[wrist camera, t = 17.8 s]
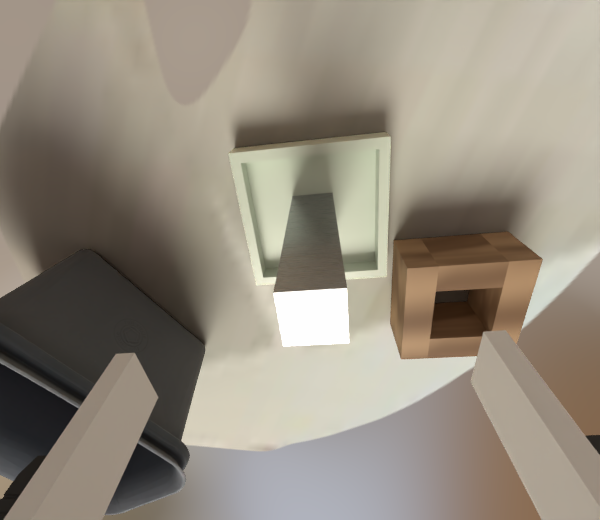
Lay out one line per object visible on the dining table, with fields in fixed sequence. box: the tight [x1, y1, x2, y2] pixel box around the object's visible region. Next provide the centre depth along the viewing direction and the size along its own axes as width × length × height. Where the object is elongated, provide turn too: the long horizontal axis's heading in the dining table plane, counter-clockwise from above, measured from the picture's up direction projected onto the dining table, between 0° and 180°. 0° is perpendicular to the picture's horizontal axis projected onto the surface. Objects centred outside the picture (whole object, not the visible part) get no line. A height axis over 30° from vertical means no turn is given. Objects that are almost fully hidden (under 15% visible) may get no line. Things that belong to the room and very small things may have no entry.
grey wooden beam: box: [273, 192, 349, 346], centre depth 21 cm, size 3×3×14 cm
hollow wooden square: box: [390, 232, 543, 359], centre depth 29 cm, size 10×10×5 cm
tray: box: [228, 132, 391, 286], centre depth 27 cm, size 12×12×2 cm
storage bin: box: [0, 249, 205, 515], centre depth 29 cm, size 21×16×14 cm
